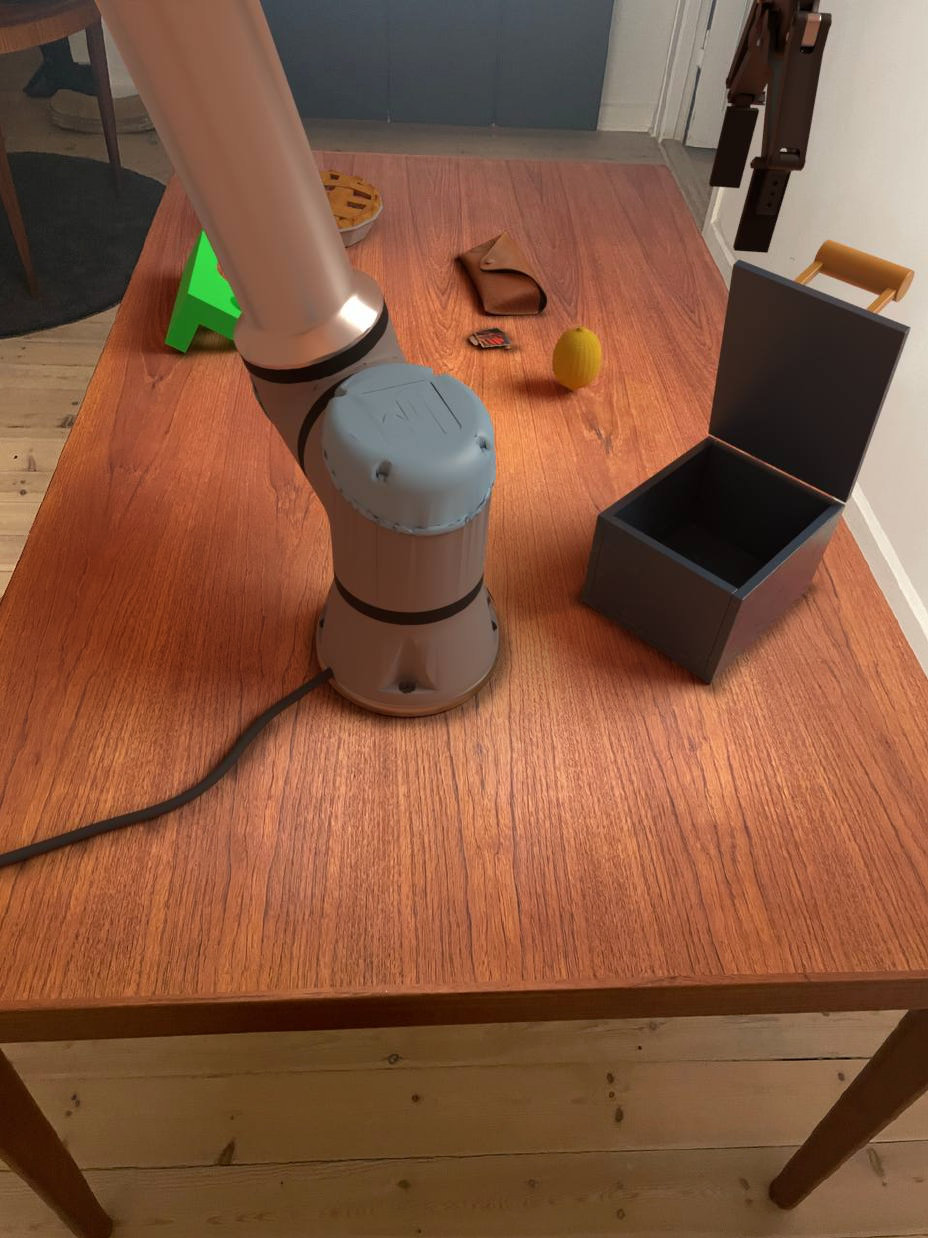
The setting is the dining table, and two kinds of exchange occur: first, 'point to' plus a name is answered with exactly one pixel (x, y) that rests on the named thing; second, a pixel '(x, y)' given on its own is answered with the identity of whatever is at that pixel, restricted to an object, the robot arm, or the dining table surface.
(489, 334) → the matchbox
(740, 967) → the dining table surface
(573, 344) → the lemon
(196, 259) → the green corner bracket
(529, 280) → the sunglasses case
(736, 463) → the tin
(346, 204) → the pie
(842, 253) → the tin lid
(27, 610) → the dining table surface
